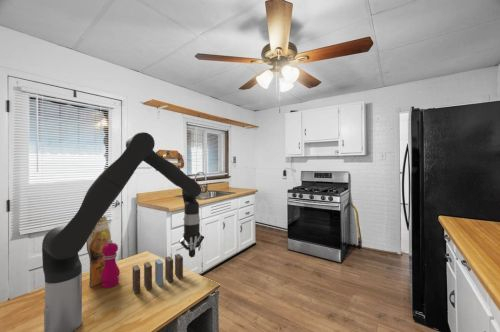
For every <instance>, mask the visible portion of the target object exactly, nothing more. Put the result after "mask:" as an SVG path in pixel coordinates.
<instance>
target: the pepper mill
mask: <svg viewBox="0 0 500 332" xmlns="http://www.w3.org/2000/svg"><path fill="white" fill-rule="evenodd" d="M118 251H119V245H118V244H117V243H116V242H114V241H113V239H111V240H109V241H108V244H106V245H105V246H104V247H103V249H102V253H103V254H104V259H105V266H104V268H103V270H102V273H101V280H103V281H102V282H101V287H102V288H105V289H109V288H113V287H115V286H116V285H117V286H118V284H119V282H120V281H119V276H120V273H121V272H120V268H119V266H118V265H117V262H116V261H117V260H116V257H117V256H118V254H117V252H118Z"/></svg>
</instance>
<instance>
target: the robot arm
mask: <svg viewBox="0 0 500 332" xmlns="http://www.w3.org/2000/svg"><path fill="white" fill-rule="evenodd" d="M155 144H156V143H155V139H154V137H153V135H152V134H150V133H148V132H144V131H143V132H142V131H141V132H137V133H135V134H133V135H131V136H129V137H128V138H127V139H126V142H125V149H124V151H123V152H122V154H121V155H120V156H119V157H118V158H117V159H116V160H114V161H113V162H112V163H111V164H110V165H109V166H107V168H105V169H104V170H103V171H102V172H101V174H99V175H98V177H96V179H95V180H94V181H93V182H92V184H91V185H90V187H89V188H88V189H87V191H86V193H85V195H84V197H83V200H82V203H81V205H80V207H79V209H78V210H77V212H76V213H75V215H74V216H73V217H72V218H71V220H69V222H68V223H67V224H66V225H59V226H55V227H54V228H52V229H50V230H49V231H47V233H46V234H45V235H44V237H43V239H42V243H41V256H42V270H43V274H44V308H43V331H44V332H74V331H76V330H77V329H78V328H80V326H81V325H82V324H83V280H82V279H83V276H82V275H83V273H82V272H83V268H82V267H83V266H82V262H81V260H80V257H79V252H80V251H81V250H82V249H83V248H84V246H85V244H86V241H87V240H88V238H89V236H90V234H91V233H92V231H93V229H94V228H95V226H96V225H97V223H98V221H99V220H100V219H101V217H104V216H105V213H106V212H107V211H108V209H109V208H110V206H112V204H113V203H114V201H115V200H116V199H117V198H118V197H119V195H120V193H121V192H122V191H123V190H124V188H125V186H126V185H127V184H128V182H129V181H130V180H131V178H132V177H133V175H134V173H135V171H136V170H137V169H138V167H139V166H140V165H141V163H142V162H144V163H146V164H147V165H149V166H150V167H151V168H153V169H154V170H156V171H157V172H159V173H160V174H161V175H162V176H164V177H165V178H166V179H167V180H168V181H169V182H171V183H172V184H173V185H175V186H176V187H178V188H180V189H181V194H182V195H181V196H182V199H183V200H182V201H183V205H184V208H183V209H184V213H183V216H184V217H183V236H182V238H181V239H179V240H178V243H179V244H180V245H181V246H182V247H183V248H184V249H185V250H186V251H188V256H189V257H190V258H195V257H196V249H197V248H199V247H200V246H201V244H202V242H203V240H205V236H204V235H202V234H201V232H200V230H201V229H200V226H201V224H200V223H201V222H200V219H201V218H200V203H199V202H198V201H197V199H196V198H197V197H199V196H200V195H201V194H202V187H201V185H200V184H199V182H198V181H196V180H195V179H193V178H191V177H190V176H188V175H187V174H186V173H185V172H184V171H183V170H181V169H180V168H179V166H177V165H176V164H174V163H172V162H171V161H170V160H169V161H168V159H166V158H164V157H162V156H160V155H159V154H158V153H157V152H155V151H154V149H155ZM186 243H187V244H186Z"/></svg>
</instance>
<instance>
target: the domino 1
mask: <svg viewBox="0 0 500 332" xmlns="http://www.w3.org/2000/svg"><path fill="white" fill-rule="evenodd" d="M132 292H133V293H134V295H138V294H141V268H140V266H139V265H138V264H134V265H132Z"/></svg>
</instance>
